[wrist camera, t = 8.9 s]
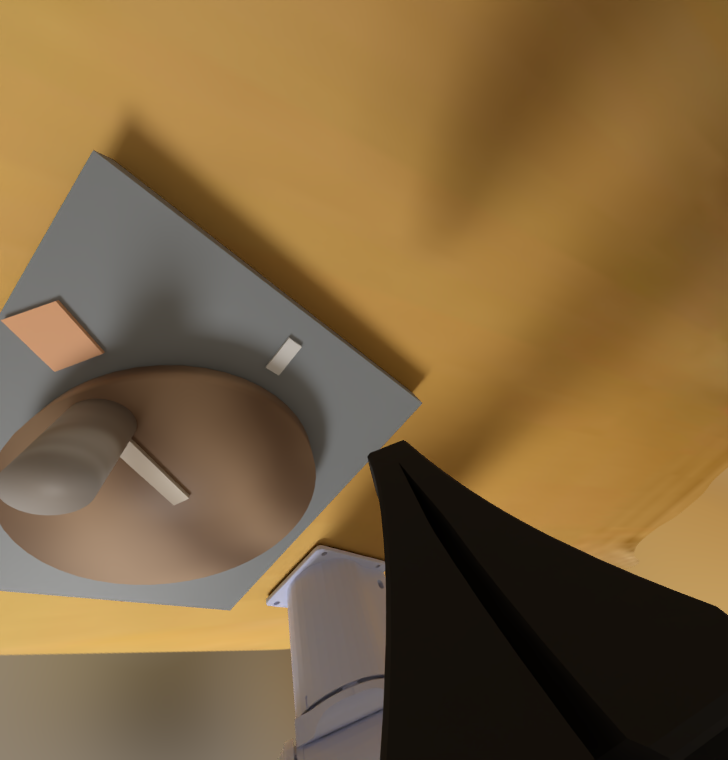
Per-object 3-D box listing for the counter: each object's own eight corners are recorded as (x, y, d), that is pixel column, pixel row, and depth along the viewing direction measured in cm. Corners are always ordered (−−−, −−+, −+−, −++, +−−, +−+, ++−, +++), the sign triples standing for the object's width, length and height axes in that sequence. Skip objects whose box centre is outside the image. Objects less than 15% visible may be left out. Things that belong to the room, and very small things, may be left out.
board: (412, 392, 21) (423, 404, 19) (231, 590, 24) (229, 613, 23) (112, 159, 11) (90, 148, 10) (-116, 547, 15) (-157, 582, 13)
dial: (244, 319, 13) (237, 362, 9) (341, 495, 21) (362, 564, 16) (-84, 447, 12) (-283, 573, 7) (148, 589, 19) (116, 693, 15)
